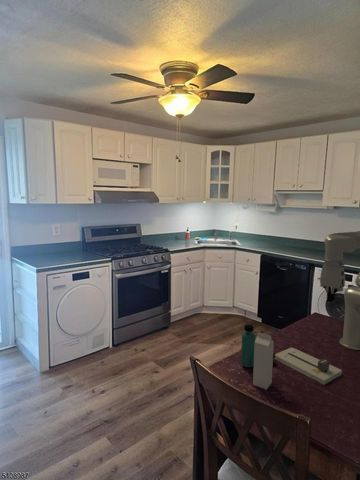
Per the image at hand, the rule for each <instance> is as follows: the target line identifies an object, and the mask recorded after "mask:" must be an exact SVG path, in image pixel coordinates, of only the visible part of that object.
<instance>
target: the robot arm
mask: <svg viewBox="0 0 360 480" xmlns="http://www.w3.org/2000/svg"><path fill="white" fill-rule="evenodd" d="M323 244H324V246H325V250H324V262H323V263H324V264H322V268H321V270H320V276H319V278H320V279H319V283H320V285H319V286H320V287H321V288H324V290H325V293H326V302H329V303H332V302H334V301H335V300H336V299H335V297H336V294H337V293H338V292H343V291H344V293H343V297H344V319H343V320H344V321H343V330H342V337H341V338H339V341H338V342H339V344H340V345H341V346H343V347H345V348H346V349H350V350H353V351H354V350H355V351H360V271H359V272H358V274H357V276H356V278H355V281H354V283H355V286H348V287H347V288H345V287H346V286H345V285H346V272H345V267H344V266H345V265H346V263H345V262H343V261H344V260H343V257H344V254H343V253H351V252H354V251H356V250H357V249H360V230H359V231H347V232H336V233H335V232H334V233H331V234H328V235H327V236H326V237H325V238H324V243H323ZM344 288H345V290H344Z"/></svg>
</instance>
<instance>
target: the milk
mask: <svg viewBox="0 0 360 480" xmlns="http://www.w3.org/2000/svg"><path fill="white" fill-rule="evenodd" d="M274 343H275V341H274V340H273V339H272V335H269V334H265V333H262V332H257V336H256V340H255V344H254V366H253V370H252V371H253V372H252V385H253V386H256V387H258V388H261V389H263V390H266V391H267V390H268V389H269V387H270V386H271V385H272V383H273V382H272V381H273V361H274V358H273V357H274V356H273V353H274Z"/></svg>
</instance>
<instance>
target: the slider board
mask: <svg viewBox="0 0 360 480" xmlns="http://www.w3.org/2000/svg"><path fill="white" fill-rule="evenodd" d="M274 354H275V355H274V356H275V357H274V356H273V357H274V358H273V360H275V361H278V362H279V363H282V364H283V365H284V366H287V367H289V368H291V369H292V370H295V371H296V372H299V373H300V374H303V375H304V376H306V377H308V378H310V379H312V380H314V381H315V382H318V383H320V384H321V385H324V386H325V385H327V384H329V383H330V382H331V381H333V380H335V379H336V378H338V377H340V376H342V375H343V370H342V369H340V368H338V367H336V366H334V365H332V364H330V363H329V370H327V371H325V372H323V371H321V370H319V369H318V361H320V360H321V359H319V358H316V357H315V356H312V355H310V354H308V353H305V352H303V351H301V350H298V349H296V348H294V347H289V348H287V349H285V350H281V351H280V352H277V353H274Z"/></svg>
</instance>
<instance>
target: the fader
mask: <svg viewBox="0 0 360 480" xmlns="http://www.w3.org/2000/svg"><path fill="white" fill-rule="evenodd" d="M319 360H320V361H318V369H319V370H321V371H323V372H325V371H327V370H329V364H330V361H329V360H327V359H324V358H322V359H319Z"/></svg>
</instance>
